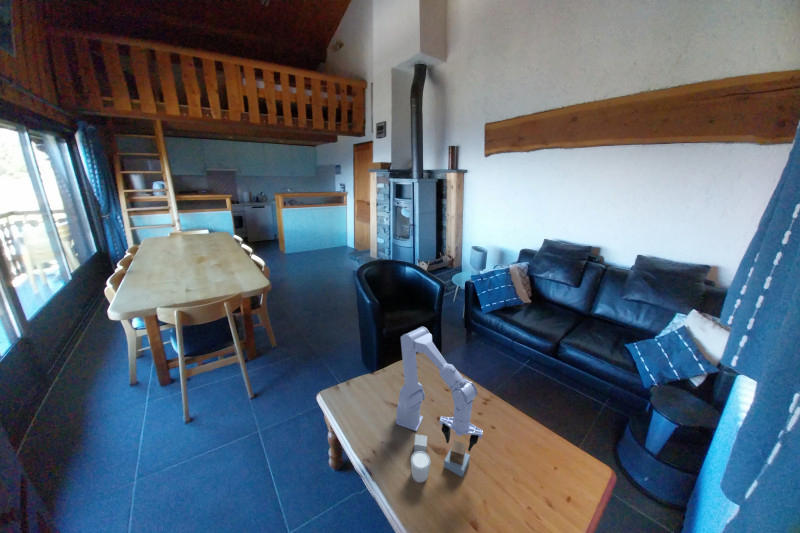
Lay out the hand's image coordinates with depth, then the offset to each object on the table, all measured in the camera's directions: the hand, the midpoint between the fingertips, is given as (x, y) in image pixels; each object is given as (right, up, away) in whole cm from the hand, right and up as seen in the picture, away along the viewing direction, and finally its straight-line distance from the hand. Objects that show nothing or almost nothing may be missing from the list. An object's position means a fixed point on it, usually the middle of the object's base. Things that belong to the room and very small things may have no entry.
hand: (458, 444), depth 106 cm
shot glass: (-14, -10, -1) cm, 17 cm away
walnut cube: (0, -6, +2) cm, 6 cm away
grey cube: (-13, -7, +8) cm, 17 cm away
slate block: (0, -9, +3) cm, 10 cm away
